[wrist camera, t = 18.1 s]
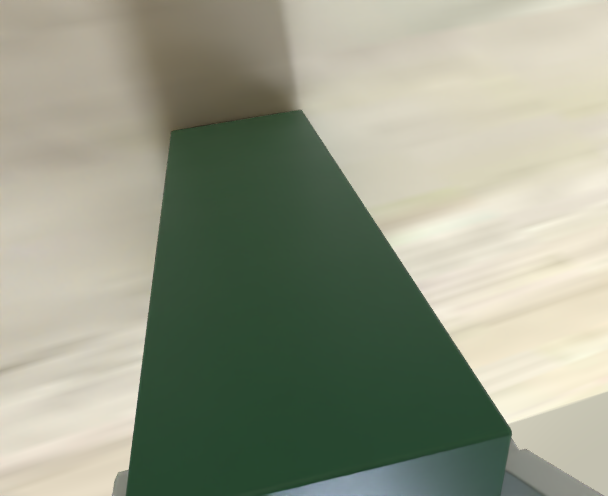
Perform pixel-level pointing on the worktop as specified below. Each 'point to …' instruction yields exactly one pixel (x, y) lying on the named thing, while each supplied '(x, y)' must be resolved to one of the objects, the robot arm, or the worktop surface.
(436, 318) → the block
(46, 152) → the worktop surface
